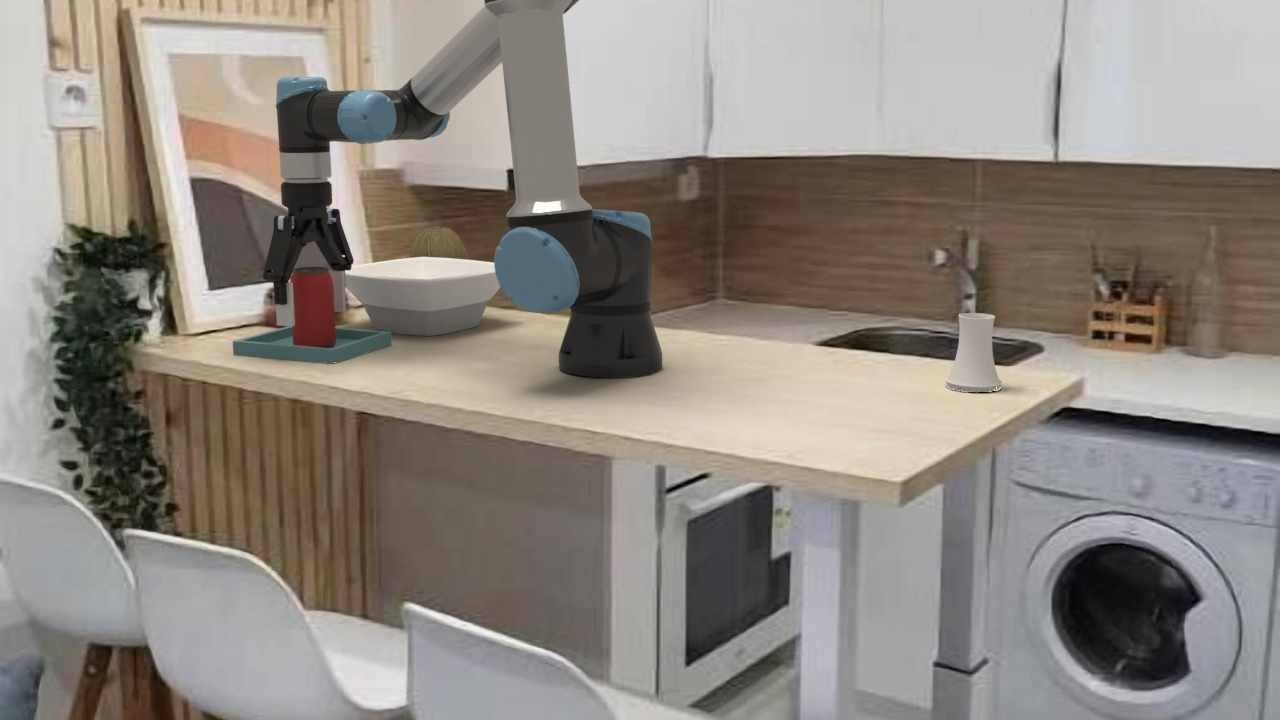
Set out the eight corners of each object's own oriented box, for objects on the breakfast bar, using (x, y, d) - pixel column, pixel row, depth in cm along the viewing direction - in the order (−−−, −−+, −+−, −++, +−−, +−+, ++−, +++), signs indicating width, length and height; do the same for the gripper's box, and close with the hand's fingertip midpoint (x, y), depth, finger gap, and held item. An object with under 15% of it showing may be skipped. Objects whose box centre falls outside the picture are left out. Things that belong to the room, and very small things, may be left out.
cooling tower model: (987, 380, 194) (991, 310, 192) (1010, 392, 186) (1014, 319, 184) (936, 382, 192) (939, 311, 190) (957, 394, 185) (961, 321, 183)
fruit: (483, 305, 256) (481, 225, 253) (438, 313, 248) (436, 230, 245) (440, 299, 263) (438, 221, 260) (396, 306, 255) (393, 225, 252)
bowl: (321, 331, 231) (318, 270, 229) (425, 310, 251) (424, 254, 249) (427, 346, 217) (426, 282, 215) (529, 324, 238) (528, 265, 235)
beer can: (325, 350, 211) (321, 272, 208) (285, 348, 212) (281, 271, 210) (343, 342, 217) (339, 266, 215) (304, 340, 218) (300, 265, 216)
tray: (391, 344, 218) (390, 331, 218) (333, 363, 204) (332, 349, 204) (296, 336, 225) (295, 324, 225) (233, 354, 210) (232, 341, 210)
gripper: (332, 174, 222) (337, 304, 226) (233, 185, 199) (241, 330, 204) (372, 175, 219) (377, 307, 223) (276, 186, 197) (283, 333, 201)
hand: (312, 318), depth 213 cm, fingers open, 13 cm apart
